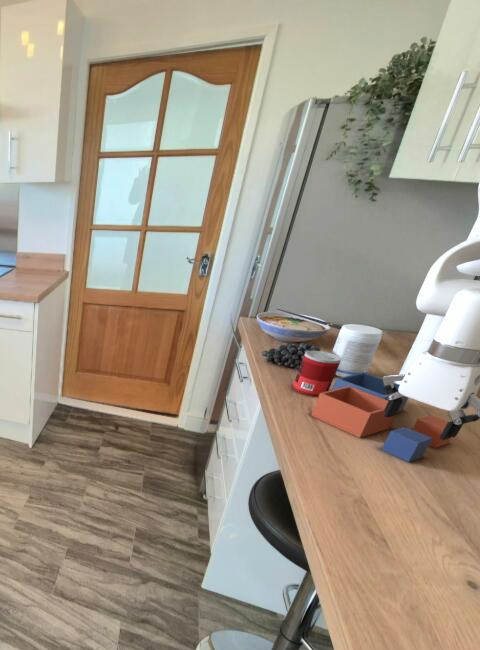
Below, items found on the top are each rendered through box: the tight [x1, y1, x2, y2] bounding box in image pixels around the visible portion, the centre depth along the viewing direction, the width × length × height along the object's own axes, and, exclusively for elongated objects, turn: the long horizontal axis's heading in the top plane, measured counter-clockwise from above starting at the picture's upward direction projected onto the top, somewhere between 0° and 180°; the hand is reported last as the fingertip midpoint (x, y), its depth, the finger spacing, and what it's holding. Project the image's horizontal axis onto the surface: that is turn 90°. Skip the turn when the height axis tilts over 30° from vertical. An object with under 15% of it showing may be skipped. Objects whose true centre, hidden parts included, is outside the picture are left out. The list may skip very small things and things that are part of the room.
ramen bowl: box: [256, 308, 343, 344], centre depth 159 cm, size 25×23×8 cm
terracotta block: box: [411, 414, 452, 449], centre depth 99 cm, size 5×5×5 cm
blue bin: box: [331, 372, 409, 413], centre depth 114 cm, size 11×11×6 cm
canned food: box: [293, 350, 341, 398], centre depth 120 cm, size 8×8×11 cm
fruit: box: [261, 342, 321, 371], centre depth 137 cm, size 9×8×15 cm
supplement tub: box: [331, 323, 384, 378], centre depth 130 cm, size 10×10×15 cm
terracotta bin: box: [310, 386, 396, 439], centre depth 106 cm, size 11×11×6 cm
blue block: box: [381, 426, 433, 463], centre depth 94 cm, size 5×5×5 cm
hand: (416, 426), depth 92 cm, fingers open, 9 cm apart
